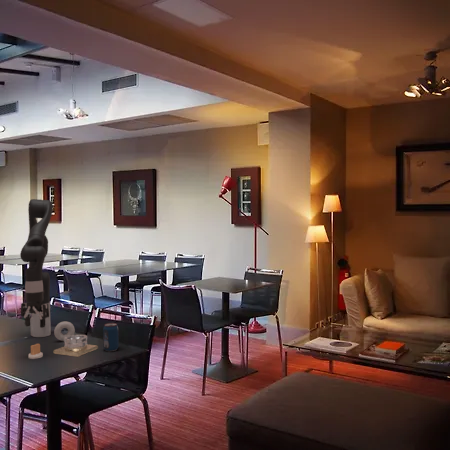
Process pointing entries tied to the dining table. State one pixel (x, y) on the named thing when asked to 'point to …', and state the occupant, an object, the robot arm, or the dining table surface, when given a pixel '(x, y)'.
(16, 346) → the dining table surface
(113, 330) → the soda can
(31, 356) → the orange block with base
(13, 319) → the dining table surface
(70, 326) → the donut
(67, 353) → the candle holder
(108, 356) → the dining table surface
